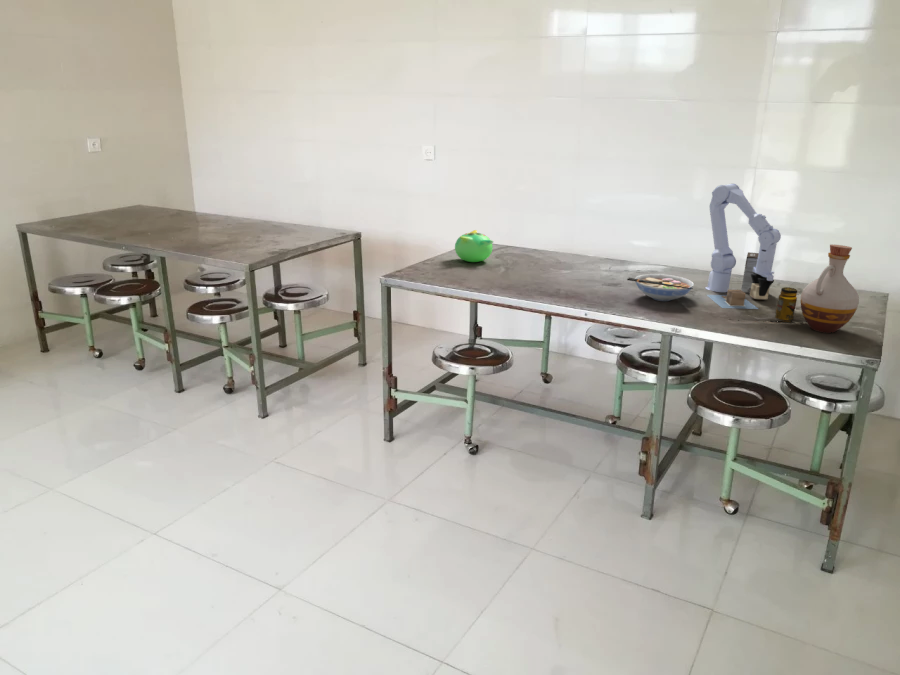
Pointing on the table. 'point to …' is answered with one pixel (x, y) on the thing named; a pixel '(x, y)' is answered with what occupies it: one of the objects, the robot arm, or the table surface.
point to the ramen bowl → (663, 286)
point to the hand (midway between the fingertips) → (759, 293)
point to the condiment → (786, 305)
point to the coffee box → (749, 271)
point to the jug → (830, 295)
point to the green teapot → (473, 247)
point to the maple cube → (757, 292)
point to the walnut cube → (735, 297)
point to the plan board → (723, 304)
